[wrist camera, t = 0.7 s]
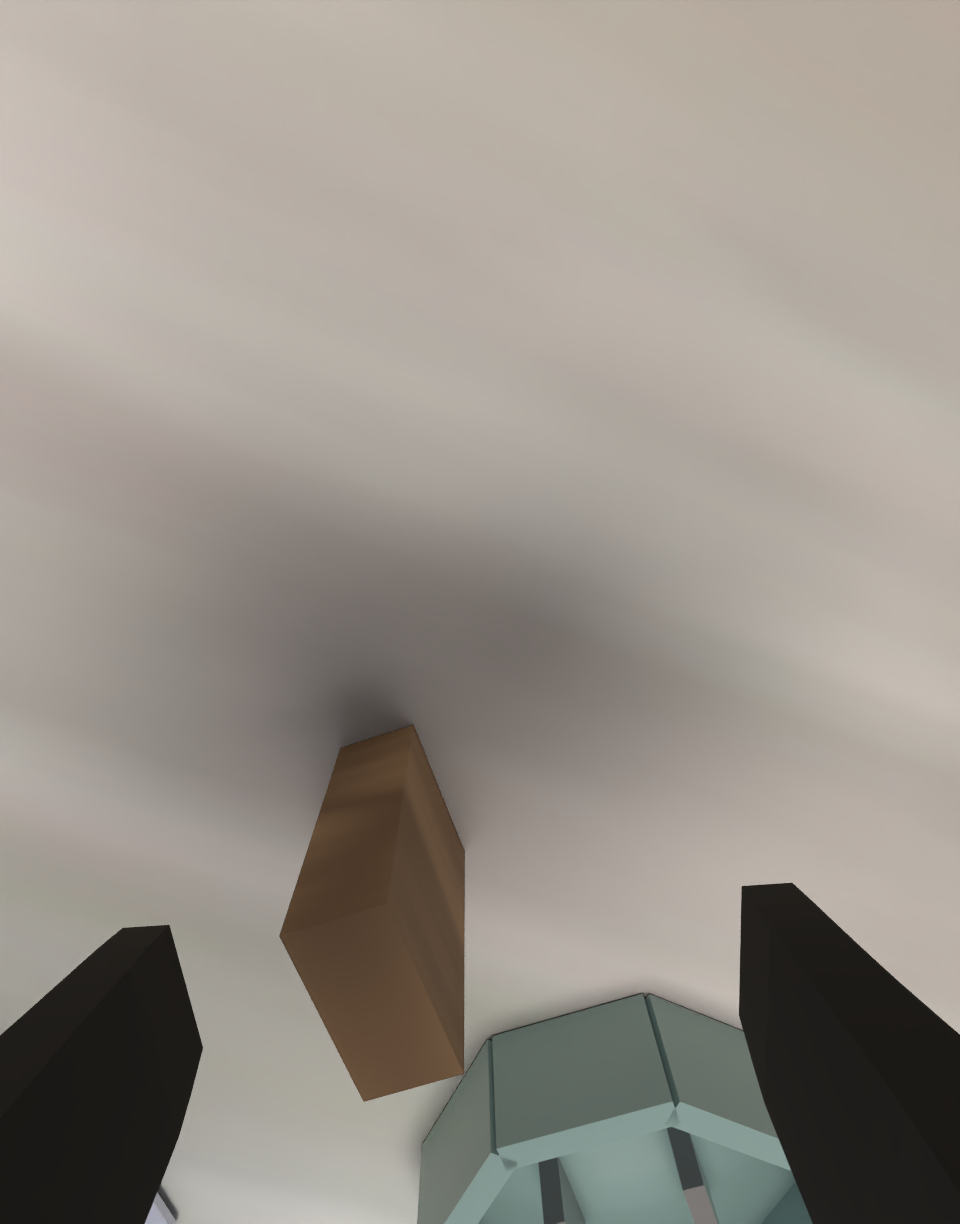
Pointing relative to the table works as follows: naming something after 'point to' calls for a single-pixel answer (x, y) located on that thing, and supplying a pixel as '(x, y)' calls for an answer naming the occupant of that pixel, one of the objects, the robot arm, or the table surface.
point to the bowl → (610, 1127)
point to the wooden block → (384, 918)
